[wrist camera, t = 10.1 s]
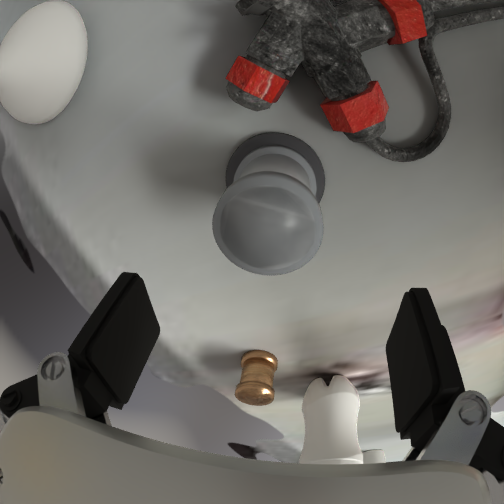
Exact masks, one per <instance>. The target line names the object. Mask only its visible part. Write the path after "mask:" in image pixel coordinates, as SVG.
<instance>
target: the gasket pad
mask: <svg viewBox="0 0 504 504" xmlns="http://www.w3.org/2000/svg"><path fill="white" fill-rule="evenodd" d="M266 145H283V146H287V147H290V148H292V149H294V150H296V151H298V152H299V153H301V154H302V155H303V156H304V157H305V158H306V159H307V160H308V162H309V163H310V165H311V166H312V169H313V171H314V174H315V179H316V187H317V190H316V196H315V197H316V199H317V201H318V203H319V202H320V200H321V198H322V195H323V192H324V186H325V176H324V170H323V167H322V164H321V162H320V160H319V158H318V156H317V155H316V153H315V152H314V151H313V149H312V148H311V147H310V146H309V145H307V144H306V143H305V142H303V141H302V140H300V139H298V138H296V137H294V136H291V135H288V134H284V133H265V134H260V135H257V136H254V137H252V138H250V139H248V140H247V141H246V142H244V143H243V144H242V145H241V146H240V147H238V149H237V150H236V151H235V152H234V154H233V155H232V157H231V159H230V161H229V163H228V166H227V170H226V186H227V188H228V187H229V186H230V185H231V184H232V183H233V181H234V176H235V173H236V171H237V168H238V167H239V165H240V163H241V162H242V160H243V159H244V158H245V157H246V156H247V155H248V154H249V153H250V152H252V151H253V150H255V149H257V148H259V147H262V146H266Z"/></svg>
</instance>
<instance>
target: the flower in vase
mask: <svg viewBox="0 0 504 504" xmlns="http://www.w3.org/2000/svg"><path fill="white" fill-rule="evenodd" d="M87 53H88V39H87V32H86V28H85V25H84V22H83V19H82V17H81V15H80V13H79V12H78V11H77V9H76V8H75V7H74V6H72V5H71V4H69V3H67V2H65V1H61V0H52V1H47V2H44V3H41V4H39V5H36V6H34V7H32V8H31V9H29V10H28V11H26V12H25V13H24V14H23V15H22V16H21V17H20V18H19V19H18V20H17V21H16V22H15V23H14V25H13V26H12V27H11V28H10V30H9V31H8V33H7V34H6V36H5V37H4V39H3V41H2V43H1V45H0V102H1V104H2V105H3V107H4V108H5V109H6V110H7V112H8V113H9V114H10V115H11V116H12V117H13V118H15V119H16V120H18V121H20V122H23V123H28V124H41V123H45V122H48V121H50V120H51V119H53V118H55V117H56V116H57V115H58V114H60V112H61V111H62V110H63V109H64V108H65V107H66V106H67V105H68V103H69V102H70V100H71V99H72V97H73V95H74V94H75V92H76V90H77V88H78V86H79V84H80V81H81V79H82V76H83V73H84V70H85V65H86V61H87Z"/></svg>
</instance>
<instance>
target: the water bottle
mask: <svg viewBox="0 0 504 504" xmlns="http://www.w3.org/2000/svg"><path fill="white" fill-rule="evenodd" d="M359 408H360V400H359V394H358V391H357V389H356V388H355V387H354V386H353V385H352V384H351V382H350V381H349V380H348V379H347V378H346V377H344V376H341V375H335V376H333V378H332V380H331V382H330V385H329V386H327V385H326V383H325V382H324V380H323V379H322V378H317V379H315V380H313V381H312V382H311V384H310V385H309V387H308V388H307V390H306V393H305V396H304V399H303V403H302V412H303V415H304V420H305V439H304V445H303V449H302V453H301V456H300V459H299V464H363V454H362V451H361V449H360V446H359V442H358V437H357V418H358V412H359Z"/></svg>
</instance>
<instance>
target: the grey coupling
mask: <svg viewBox="0 0 504 504" xmlns="http://www.w3.org/2000/svg"><path fill="white" fill-rule="evenodd" d="M316 190H317V187H316V179H315V174H314V171H313V169H312V166H311V165H310V163H309V162H308V160H307V159H306V158H305V157H304V156H303V155H302V154H301V153H299V152H298V151H296V150H294V149H292V148H290V147H287V146H283V145H266V146H262V147H259V148H257V149H255V150H253V151H252V152H250V153H249V154H248V155H247V156H246V157H245V158H244V159H243V160H242V162H241V163H240V165H239V167H238V168H237V171H236V173H235V176H234V181H233V183H232V184H231V185H230V186H229V187H228V188H227V189H226V190H225V192H224V193H223V195H222V197H221V198H220V200H219V202H218V204H217V206H216V208H215V211H214V215H213V222H212V225H213V234H214V237H215V240H216V243H217V245H218V247H219V248H220V250H221V251H222V253H223V254H224V255H225V256H226V257H227V258H228V259H229V260H230V261H231V262H233V263H234V264H235V265H237V266H238V267H240V268H242V269H244V270H246V271H249V272H252V273H256V274H260V275H281V274H286V273H289V272H292V271H295V270H297V269H299V268H300V267H302V266H304V265H305V264H306V263H307V262H309V261H310V260H311V259H312V258H313V256H314V255H315V254H316V252H317V251H318V249H319V247H320V245H321V242H322V238H323V229H324V226H323V219H322V213H321V209H320V205H319V203H318V201H317V199H316V197H315V196H316Z"/></svg>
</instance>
